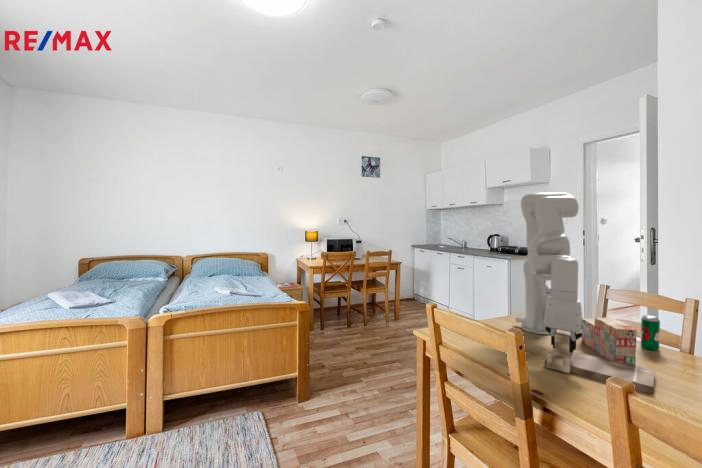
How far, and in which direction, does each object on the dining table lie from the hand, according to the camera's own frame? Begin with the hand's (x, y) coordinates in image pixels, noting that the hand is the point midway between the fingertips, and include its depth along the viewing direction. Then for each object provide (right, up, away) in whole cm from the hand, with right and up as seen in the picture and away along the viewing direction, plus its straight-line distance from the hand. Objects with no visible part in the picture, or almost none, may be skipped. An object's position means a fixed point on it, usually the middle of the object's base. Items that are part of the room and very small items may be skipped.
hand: (563, 348), depth 106 cm
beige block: (0, -5, 0) cm, 5 cm away
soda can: (+40, -5, +12) cm, 42 cm away
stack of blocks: (+22, -5, +10) cm, 25 cm away
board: (+8, -5, -5) cm, 11 cm away
